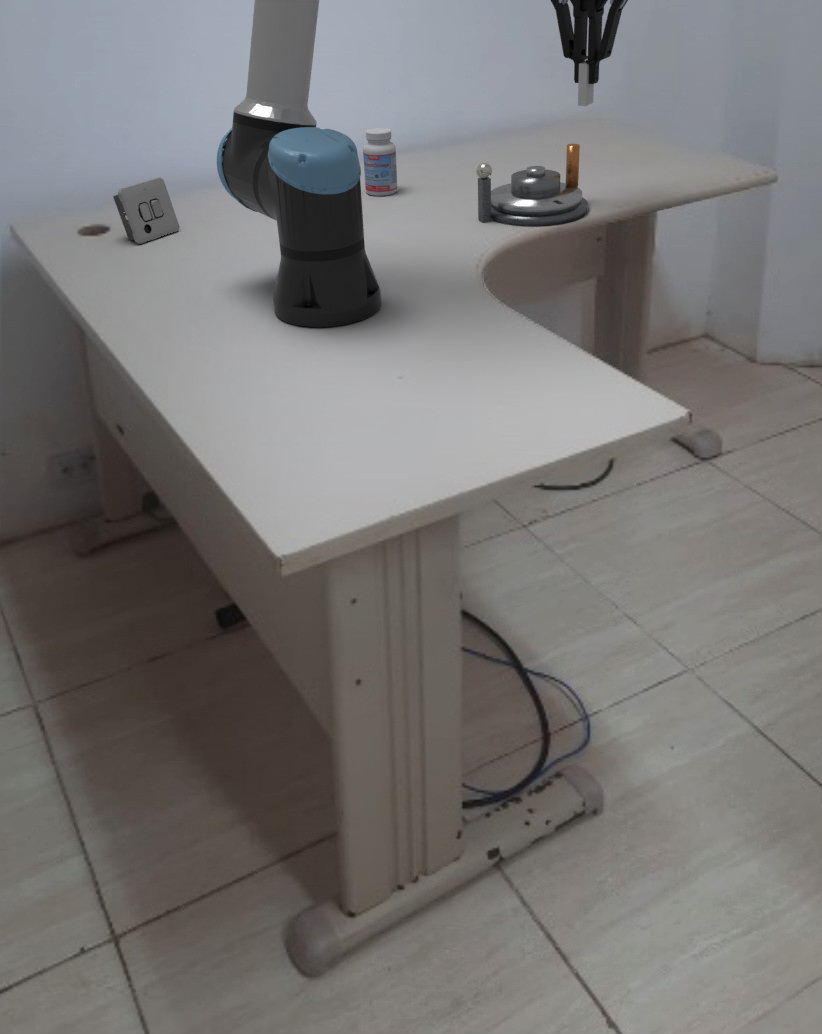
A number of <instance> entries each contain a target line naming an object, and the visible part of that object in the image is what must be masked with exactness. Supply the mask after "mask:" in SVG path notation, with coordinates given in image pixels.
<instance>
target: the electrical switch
mask: <svg viewBox="0 0 822 1034" xmlns="http://www.w3.org/2000/svg"><path fill="white" fill-rule="evenodd" d="M113 200H114V203H115V205H116V208H117V211H118V214H119V217H120V220H121V222H122V225H123V227H124V231H125V233H126V237H127V238H128V241H129V240H132V241H134V242H135V243H136V244H137V245H141V244H145V243H147V241H148V242H151V241H153V240H156V239H158V238H161V236H162V237H165V236H167V234H168V235H170V233H171V234H173V232H174V233H175V232H178V231H179V230H180V224H179V222H178V218H177V215H176V212H175V209H174V207H173V203H172V201H171V197H170V195H169V191H168V189H167V186H166V183H165V181H164V178H162V177H156V178H152V179H149V180H144V181H141V182H138V183H134V184H132V185H129V186H125V187H123V188H122V187H121V188H119V189H118V192H117V194H115V195H113ZM164 235H165V236H164Z"/></svg>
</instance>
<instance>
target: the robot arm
mask: <svg viewBox="0 0 822 1034" xmlns="http://www.w3.org/2000/svg"><path fill="white" fill-rule="evenodd" d="M569 1H570V3H571V6H572V16H573V22H572V16H571V11H570V6H569V3H568V2H569ZM608 1H609V0H550V3H551V4H552V7H554V9H555V13H556V14H555V15H556V20H557V26H558V32H559V37H560V42H561V48H562V54H563V57H564V58H565V59H570V60H572V61H573V65H574V69H573V71H574V72H573V76H574V77H573V81H574V84H578V87H577V92H578V93H577V106H578V107H579V106H580V107H581V106H582V107H587V106H589V105H591V104H593V103H594V91H595V89H594V87H595V84H597V83H599V80H600V63H601V61H604V60H605V59H608V58H610V57H611V55H612V52H613V47H614V44H615V42H616V40H615V39H616V35H617V32H618V28H619V24H620V22H621V21H620V20H621V16H622V11H623V10H624V8H625V6H626V5H627V3H628V2H629V0H610V1H609V4H610V7H609V9H608V13H607V15H606V16H607V17H606V19H605V21H606V22H605V24H604V29H603V16H604V14H605V13H604V12H605V6H606V4H607V3H608ZM319 6H320V0H254V4H253V14H252V27H251V37H250V48H249V49H250V52H249V60H248V71H247V84H246V94H245V95H246V96H245V98H244V99H243V100H242V101H241V102H240V103H239V104H237V105H236V106H234V108H233V113H232V114H233V117H232V126H231V128H230V129H229V130H228V131H227V133H226V134H224V135H223V137H222V139H221V140H220V142H219V145H218V148H217V152H216V169H217V173H218V178H219V180H220V183H221V184H222V186H223V188H224V190H225V191H226V192H227V193H228V195H230V197H232V199H234V200H235V201H237V202H238V203H239V204H241V205H242V206H243V207H244V208H246V209H248V210H250V211H252V212H255V213H259V214H261V215H264V216H266V217H268V218H270V219H272V220H274V221H276V226H277V233H278V243H279V250H280V251H279V252H280V261H279V266H278V267H279V268H278V272H277V276H276V279H275V280H276V281H275V286H274V291H273V295H272V296H273V297H272V301H273V308H274V314H275V315H276V317H277V318H279V320H281V321H283V322H285V323H288V324H291V325H295V326H301V327H309V328H310V327H312V328H313V327H314V328H316V327H318V328H321V327H322V328H324V327H337V326H343V325H349V324H353V323H356V322H360V321H362V320H365V319H367V318H369V317H371V316H373V315H374V314H376V313H377V312H378V311H379V310H380V308H381V306H382V295H381V294H382V293H381V288H380V285H379V282H378V280H377V277H376V275H375V272H374V270H373V267H372V265H371V262H370V260H369V257H368V255H367V252H366V245H365V232H364V231H365V229H364V215H363V201H362V186H361V184H362V183H361V175H362V170H361V169H362V168H361V164H360V159H359V154H358V149H357V145H356V144H355V141H353V140H352V138H351V137H349V135H346V134H345V133H343V132H340V131H338V130H335V129H330V128H320V127H317V123H318V122H317V120H316V119H315V117H314V116H313V114H312V112H311V111H310V110H309V107H308V106H309V105H308V103H309V96H310V86H311V80H312V79H311V78H312V67H313V59H314V51H315V42H316V33H317V25H318V17H319V8H320V7H319ZM573 24H574V25H573ZM602 32H603V33H602Z"/></svg>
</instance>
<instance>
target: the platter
mask: <svg viewBox="0 0 822 1034" xmlns="http://www.w3.org/2000/svg"><path fill="white" fill-rule="evenodd" d="M580 147H581V146H580V144H579V143H568V144H566V157H565V158H566V160H565V161H566V162H565V163H566V164H565V182H562V181H560V194H559V195H557V196H555V197H552V198H548V199H540V200H528V199H520V198H516V197H514V196H512V195H511V182H510V183H506V184H502V185H499V186H497V187H495V188H493V189H491V207H492V208H494V209H495V210H498V211H501V212H504V213H509V214H516V215H550V214H557V213H562V212H566V211H570V210H573V209H575V208H577V207H578V206H580V205H581V203H582V197H583V191H582V189H581V188H579V177H580V175H579V174H580V172H579V171H580V170H579V169H580V152H581V151H580Z"/></svg>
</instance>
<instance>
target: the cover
mask: <svg viewBox="0 0 822 1034" xmlns="http://www.w3.org/2000/svg"><path fill="white" fill-rule="evenodd" d="M510 176H511V177H510V179H511V181H510V183H511V195H512V196H514V197H516V198H520V199H528V200H540V199H548V198H552V197H555V196H557V195H559V194H560V182H561V174H560V172H558V171H556V170H552V169H546V166H542V165H531V166H527V167H526V169H524V170H523V169H522V170H518V171H516V172H513V173H512V174H511V175H510Z"/></svg>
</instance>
